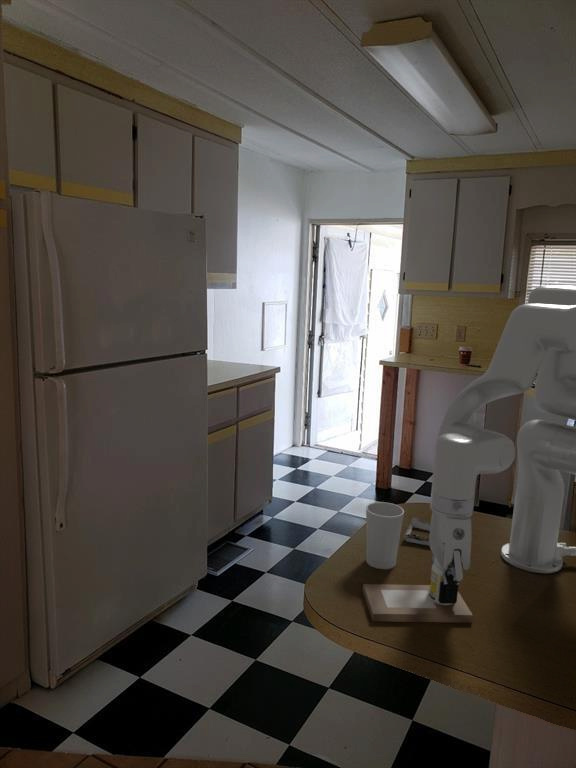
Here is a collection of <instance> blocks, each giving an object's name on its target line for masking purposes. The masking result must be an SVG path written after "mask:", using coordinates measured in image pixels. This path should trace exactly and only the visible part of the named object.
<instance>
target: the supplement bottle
mask: <svg viewBox="0 0 576 768" xmlns="http://www.w3.org/2000/svg"><path fill="white" fill-rule="evenodd" d="M431 566H432V568H431V567H430V569H431V570H430V576H431V580H430V579H429V585H430V593H429V597H430V599H431V600H432V601H433V602H435V603H437V604H440V605H451V604H453V603H440V602H439V590H440V582H443V581H442V577H443V568H442V567H441V565H440V564H439V562H438V561H437V559H436V557H435V558H434V564H433V565H432V564H431ZM448 566H453V565H452V563H450V564H448ZM452 573H453V571H447V576H448V575H449V574H452Z"/></svg>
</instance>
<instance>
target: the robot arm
mask: <svg viewBox="0 0 576 768" xmlns="http://www.w3.org/2000/svg"><path fill="white" fill-rule="evenodd" d="M535 379H536V380H535ZM534 382H535V385H534ZM533 385H534V391H533V405H534V407H535V409H537V410H538V411H539V412H542V413H544V414H548V415H552V416H555V417H559V418H563V419H569V420H574V421H576V285H569V284H568V285H567V284H566V285H565V284H549V285H547V284H546V285H542V286H537V287H536V288H533V290H531V291H530V293H529V294H528V299H527V303H524V304H521V305H518V306H517V307H515V308H514V309H513V310H512V311H511V313H510V315H509V317H508V319H507V321H506V324H505V327H504V329H503V331H502V333H501V335H500V339H499V341H498V343H497V346H496V349H495V351H494V352H493V355H492V358H491V361H490V363H489V366H488V369H487V370H486V371H485V373H484V374H483V375H481V376H480V377H478V378H476V379H474V380H473V381H472V382H470V383H469V384H468V385H466V387H464V388H463V389H462V390H461V391H460V392H459V393H458V394H457V395H456V396H455V397H454V398H453V399H452V400H451V402H450V404H449V406H448V408H447V410H446V412H445V415H444V417H443V419H442V422H441V425H440V427H439V431H438V434H437V438H436V441H435V448H434V459H433V471H432V478H431V479H432V482H431V492H430V500H429V501H430V502H429V503H430V504H429V508H430V511H432V512H431V518H430V523H431V525H430V531H429V535H428V536H429V537H428V538H429V545H428V546H429V548H430V551H431V553H432V557H431V561H430V562H431V567H430V569H431V568H432V565H433V564H434V558H435V557H436V559H437V561H438V562H439V564H440V565H441V567H442V568H443V577H442V581H443V582H440V590H439V602H440V603H456V602H457V594H458V592H459V585H460V582H461V581H463V579H464V575H463V570H465V571H468V570H469V569H470V566H471V554H472V552H471V551H472V550H471V549H472V519H471V518H472V517H471V516H473V512H474V504H475V497H476V496H475V494H476V484H477V477H478V475H489V474H490V475H493V474H498V473H501V472H503V471H504V472H505V470H507V469H509V467H510V466H512V464H513V462H514V460H515V457H516V450H517V462H518V463H517V467H518V468H517V478H516V479H517V481H516V488H515V496H514V504H513V511H512V512H513V513H512V519H511V529H510V536H509V542H508V543H505V544H503V545H502V546H501V548H500V549H501V552H500V555H501V557H502V559H503V560H504V561H505V562H507V563H508V564H509V565H511V566H513V567H515V568H518V569H520V570H523V571H527V572H530V573H531V572H532V573H538V574H552V573H555V572H558V571H560V570H561V569H562V568H563V564H564V563H563V559H562V558H563V557H565V556H573V557H574V556H575V557H576V546H567V543H566V542H558V539H559V532H560V527H561V526H560V525H561V518H562V511H563V510H562V509H563V502H564V497H565V483H564V479H563V477H562V475H561V472H564V473H567V474H570V475H575V476H576V426H572V425H570V424H569V425H568V424H565V423H560V422H556V421H553V420H552V421H551V420H546V419H531V420H528V421H526V422H524V423H523V425H522V426H521V427H520V429H519V430H518V433H517V437H516V447H515V444H514V442H513V440H512V439H511V438H510V437H508V436H506V434H503V433H500V432H497V431H493V430H489V429H486V428H483V427H478V426H476V425H471V424H469V423H470V421H471V419H472V417H473V416H474V415H475V413H476V412H478V411H479V409H481V408H482V407H483V406H485V405H487V404H489V403H491V402H493V401H496V400H500V399H503V398H506V397H510V396H511V397H512V396H515V395H519V394H523V393H526V392H528V391H530V389H531V388H532V386H533ZM560 471H561V472H560ZM450 563H452V565H453V566H448V564H450ZM447 571H453V573H452V574H449V575H448V576H447ZM429 576H430V579H429V581H430V580H431V575H429Z"/></svg>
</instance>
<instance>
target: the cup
mask: <svg viewBox="0 0 576 768" xmlns="http://www.w3.org/2000/svg"><path fill="white" fill-rule="evenodd" d="M404 515H405V510H404V509H403V508H402V507H401V506H400V505H398V504H395V503H392V502H391V503H390V502H385V501H376V502H371V503H369V504H367V505H366V506H365V516H366V517H365V519H366V521H365V523H366V527H365V528H366V530H365V532H366V559H365V560H366V563H367V565H369V566H370V567H373V568H375V569H378V570H379V569H380V570H381V569H382V570H390V569H393V568H394V567H395V566H396V565H397V558H398V557H397V555H398V552H399V551H398V550H399V545H400V537H401V532H402V528H403V527H402V526H403V521H404Z"/></svg>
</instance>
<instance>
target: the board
mask: <svg viewBox="0 0 576 768" xmlns="http://www.w3.org/2000/svg"><path fill="white" fill-rule="evenodd" d="M362 586H363V587H362V593H363V596H364V599H365V602H366V605H367V608H368V611H369V615H370V618H371V620H372V622H381V623H383V622H385V623H386V622H390V623H391V622H394V623H395V622H396V623H398V622H399V623H401V622H402V623H407V622H408V623H466V624H467V623H469V624H471V623H473V613H472V611H471V610H470V608H469V606H468V605H467V602H465V600H464V599H463V596H462V595H461V594H460V592H459V591H458V594H457V602H456V603H453V604H451V605H440V604H437V603H435V602H433V601H432V600H431V599H430V597H429V593H430V584H386V583H385V584H377V583H376V584H373V583H371V584H369V583H365V584H364V583H363V585H362Z"/></svg>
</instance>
